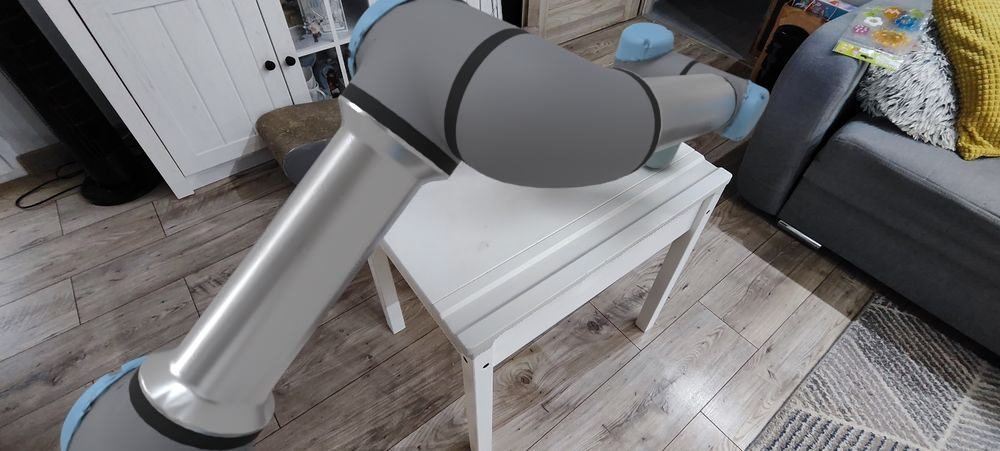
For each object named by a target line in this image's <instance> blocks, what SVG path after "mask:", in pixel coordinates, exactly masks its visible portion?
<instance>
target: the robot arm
mask: <svg viewBox="0 0 1000 451" xmlns="http://www.w3.org/2000/svg"><path fill="white" fill-rule="evenodd" d="M674 42H675V36H674V33H673V31H671V30H669V29H668V28H667V27H666V26H664V25H662V24H658V23H654V22H648V21H647V22H645V21H644V22H636V23H632V24H630V25H629V26H626V27H625V28H624V29H623V30H622V33H621V34H620V38H619V41H618V45H617V49H616V51H615V54H614V56H613V59H614V60H613V65H612V67H606V66H603V65H600V64H598V63H595V62H593V61H591V60H589V59H587V58H585V57H583V56H581V55H578V54H577V53H574V52H572V51H571V50H568V49H566V48H564V47H563V46H560V45H559V44H556V43H555V42H553V41H551V40H549V39H547V38H545V37H543V36H540V35H537V34H534V33H531V32H529V31H527V30H526V29H523V28H520V27H518V26H516V25H514V24H512V23H509V22H508V21H505V20H503V19H502V18H501V19H500V18H498V17H497V16H494V15H492V14H490V13H487V12H485V11H482V10H480V9H478V8H476V7H474V6H472V5H470V4H469V3H468V2H467V1H465V0H376V1H374V2H373V3H372V4H371V5H370V6H369V7H368V8H367V9H366V10H365V11H364V12H363V14H362V15H361V16H360V18H359V19H358V21H357V22H356V24H355V26H354V28H353V30H352V32H351V36H350V39H349V43H348V50H349V52H350V57H348V59H347V68H348V70H349V74H350V77H351V79H350V81H349V82H348V84H347V85H346V87H345V88H344V89H343V91H342V92H341V93H340V94H339V96H338V98H337V101H338V106H339V111H340V112H339V113H340V117H341V122H340V123H341V124H340V127H339V129H338V130H337V131H336V132H335V133H334V135H333V137H332V138H331V139H330V140H329V142H328V143H327V144H326V146H325V147H324V148H323V150H322V151H321V153H320V154H319V155H318V157H317V158H316V160H315V161H314V162H313V163H312V165H311V167H310V168H309V169H308V170H307V171H306V173H305V174H304V175H303V177H302V179H301V180H300V181H299V182H298V184H297V185H296V187H295V188H294V189H293V191H292V192H291V194H290V195H289V196H288V197H287V199H286V200H285V201H284V203H283V204H282V206H281V207H280V208H279V210H278V211H277V212H276V214H275V215H274V217H273V218H272V219H271V221H270V222H269V223H268V224H267V226H266V227H265V229H264V230H262V233H261V234H260V235H259V237H258V238H257V239H256V241H255V242H254V244H253V245H252V246H251V247H250V249H249V250H248V251H247V253H246V254H245V256H244V257H243V258H242V259H241V261H240V262H239V264H238V265H237V266H236V267H235V269H234V271H232V273H231V275H230V276H229V277H228V279H227V280H226V281H225V283H224V284H223V285H222V287H221V288H220V290H219V291H218V292H217V293H216V295H215V296H214V297H213V299H212V300H211V302H210V303H209V305H208V306H207V307H206V309H205V310H204V311H203V313H202V314H201V315H200V317H199V318H198V319H197V321H195V323H194V325H193V326H192V327H191V329H190V330H189V332H188V333H187V334H186V336H185V337H184V338H183V339H182V341H181V342H180V343H175V344H169V345H165V346H162V347H158V348H157V349H155V350H154V351H152V352H150V354H148V355H144V356H140V357H136V358H135V359H134V358H133V359H131V360H130V361H128V362H126V363H124V364H121V365H120V371H119V372H117V373H115V374H111V373H106V374H104V375H103V376H102V377H101V378H99V379H98V380H96V381H95V382H94V383H92V384H91V386H89V387H88V388H87V389H86V390H85V392H83V393H82V394H81V396H80V397H79V398H78V399H77V401H75V403H74V404H73V405H72V407H71V408H70V410H69V412H68V414H67V416H66V417H65V420H64V422H63V425H62V428H61V432H60V438H59V439H60V440H59V445H60V451H256V450H255V448H254V443H255V441H256V440H257V439H258V437H259V436H260V435H261V433H262V432H263V430H264V429H265V427H266V426H267V425H268V424H269V422H270V421H271V419H272V418H273V416H274V413H275V410H276V409H275V408H276V402H275V397H274V393H273V389H274V387H275V386H276V384H278V382H279V380H280V379H281V378H282V376H283V375H284V373H286V371H287V369H288V368H289V367H290V366H291V364H292V363H293V361H294V360H296V359H295V358H296V357H297V356H298V355H299V353H300V352H301V351H302V349H303V348H304V346H306V344H307V343H308V341H309V340H310V338H311V337H312V336H313V334H314V333H315V332H316V331H317V329H318V328H319V327H320V325H321V323H322V322H323V320H324V319H325V318H326V317H327V315H328V314H329V313H330V311H331V310H332V308H333V307H334V306H335V304H336V303H337V302H338V300H339V299H340V298H341V297H342V295H343V294H344V293H345V291H346V289H347V288H348V287H349V285H350V284H352V281H353V280H354V279H355V277H356V276H357V274H358V273H359V272H360V270H361V269H363V266H364V265H366V263H367V261H368V259H369V258H370V257H371V255H372V254H373V253H374V251H375V250H376V249H377V248H378V247H379V245H380V243H381V242H382V241H383V239H384V238H385V236H387V234H388V233H389V231H390V230H391V229H392V227H393V226H394V224H396V222H397V220H398V219H399V218H400V216H401V215H402V214H403V212H404V211H405V210H406V208H407V207H408V205H409V204H410V202H411V201H412V200H413V199H414V197H415V196H416V194H417V193H418V192H419V191H420V190H421V188H422V186H424V185H426V184H428V183H432V182H439V181H440V182H441V181H447V180H448V179H449V178H450V177H451V176H452V174H453V173H454V172H455V170H456V169H457V168H458V166H459V165H460V163H461V162H463V163H464V164H466V165H467V166H468V167H470V168H471V169H473V170H475V171H476V172H477V173H479V174H481V175H483V176H485V177H487V178H490V179H493V180H495V181H498V182H501V183H504V184H508V185H513V186H518V187H524V188H525V187H526V188H534V189H535V188H536V189H573V188H586V187H592V186H598V185H599V186H600V185H603V184H606V183H611V182H615V181H617V180H620V179H622V178H624V177H627V176H629V175H631V174H633V173H635V172H637V171H638V170H640V169H641V168H643V167H644V166H646V165H645V164H646V163H647V162H648V161H649V159H650V158H651V157H652V155H653V154H654V153H656V152H658V151H661V150H664V149H666V148H669V147H672V146H674V145H677V144H680V143H681V144H682V143H684V142H688V141H690V140H694V139H695V138H698V137H700V136H703V135H706V134H708V133H712V132H713V133H714V134H715V133H716V134H717V135H718V136H720V137H723V138H726V139H729V140H731V141H734V142H739V141H742V140H743V139H745V138H746V137H747V136H748V135H749V134H750V133H751V131H753V129H754V127H755V126H756V124H757V123H758V122H759V120H760V118H761V117H762V115H763V113H764V111H765V109H766V108H767V105H768V103H769V100H770V92H769V90H768V89H767V88H765V87H763V86H761V85H758V84H757V83H755V82H752V80H751V79H747V78H746V79H745V78H743V77H739V76H736V75H734V74H731V73H729V72H726V71H724V70H721V69H719V68H717V67H713V66H711V65H709V64H705V63H702V62H701V61H699V60H697V59H695V58H692V57H689V56H687V55H685V54H682V53H679V52H677V51H675V50H673V49H674ZM681 144H680V145H681Z"/></svg>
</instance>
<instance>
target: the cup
mask: <svg viewBox="0 0 1000 451" xmlns="http://www.w3.org/2000/svg"><path fill="white" fill-rule="evenodd" d="M681 144H682V143H680V144H677V145H674V146H672V147H669V148H666V149H664V150H661V151H658V152H656V153H654V154H653V155H652V157H651V158H650V159H649V161H648V162H647V163H646V164H645V165H644V166H646V167H648V168H652V169H662V168H665V167H667V166H669V165H670V164H671V163H672V162H673V160H674V159H675V157H676V155H677V153H678V151H679V149H680V147H681Z"/></svg>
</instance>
